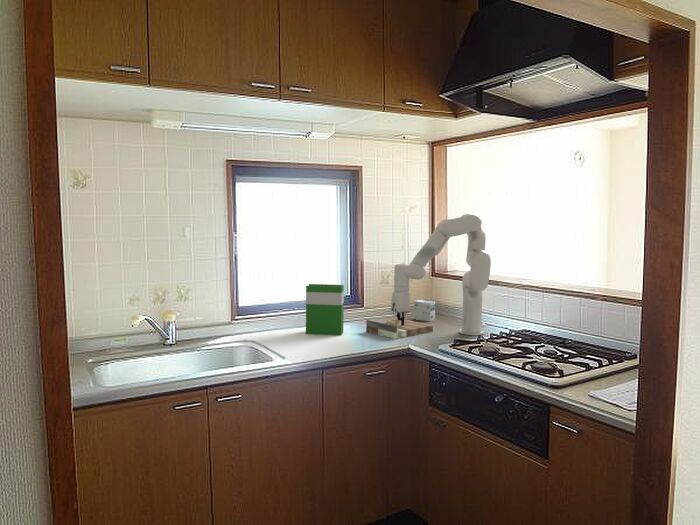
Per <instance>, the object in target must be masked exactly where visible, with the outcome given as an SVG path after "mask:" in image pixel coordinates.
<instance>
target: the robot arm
mask: <svg viewBox="0 0 700 525" xmlns="http://www.w3.org/2000/svg"><path fill="white" fill-rule="evenodd" d="M482 222H483V221H482V218H481V217H480V216H479V215H478V214H475V213H464V214H462V215H461V216H459V217H456V218H455V217H454V218H450V219H448V218H446V219H442V220H441V221H439V223H438V224H437V226H436V227H435V228H434V230H433V231H432V233H431V235H430V236H429V237H428V239H427V240H426V242H424V245H423V246H421V248H420V250H419V251H418V252H417V253H416V254H415V255H414V257H413V259H412V260H411V262H410V263H409V264H405V263H398V264H395V265H394V266H393V267H394V272H393V273H394V275H393V277H394V278H393V291H392V293H391V299H390V311H391V312H392V315H395V317H396V318H397V319H396V320H400V321H401V326H404V319H406V316H407V314H408V313H410V310H411V293H410V288H411V287H410V279H411V280H422V279H424V278H425V277H426V274H427V270H426V266H427V265H428V263H429V262H430V261H431V260H432V259H433V258H434V257H436V256H437V255H440V253H441V252H442V250H443V249H444V248H445V246H446V244H447V243H448V241H449V240H450V238H451V237H458V236H463V235H465V234H466V235H467V247H466V248H467V249H466V258H465V259H466V260H465V261H466V264H467V265H468V266H469V267H470V270H468V271H466V272H465V273H464V274H463V275H462V278H461V286H462V287H461V288H462V310H461V311H462V312H461V317H462V318H461V328H459V329H458V333H459V334H461V335H466V336H482V335H485V330H483V328H486V326H487V325H486V323H482V318H483V317H482V316H483V314H482V313H483V310H482V309H483V291H485V290H486V289H487V288H488V287H489V286H488V285H489V281H490V273H491V265H492V261H491V260H492V259H491V256H490V255H489V252H487V251H486V241H487V240H486V233H485V230H484V227H483V226H482V224H483V223H482Z"/></svg>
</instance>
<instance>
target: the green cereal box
mask: <svg viewBox="0 0 700 525" xmlns="http://www.w3.org/2000/svg"><path fill="white" fill-rule="evenodd" d="M344 289H345V285H344V284H329V283H328V284H324V283H323V284H319V283H308V285H306V286H305V335H320V336H325V335H326V336H342V335H343V334H344V318H345V317H344V314H345V312H344V309H345V308H344V304H345V303H344V302H345V300H344V297H345V296H344V295H345V292H344V291H345V290H344Z"/></svg>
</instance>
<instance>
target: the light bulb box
mask: <svg viewBox="0 0 700 525" xmlns="http://www.w3.org/2000/svg"><path fill="white" fill-rule="evenodd" d="M414 319H416V321H425V322H432V321H435V320H436V301H435V300H434V301H433V300H426V299H425V300H424V299H423V300H422V299H417V300H414V301H413V320H414Z"/></svg>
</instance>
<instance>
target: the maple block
mask: <svg viewBox="0 0 700 525" xmlns="http://www.w3.org/2000/svg"><path fill="white" fill-rule="evenodd" d="M386 323H387V324H389V325H393V326H397V329H401V321H400V320H397V319H396V318H393V319H387V320H386Z"/></svg>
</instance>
